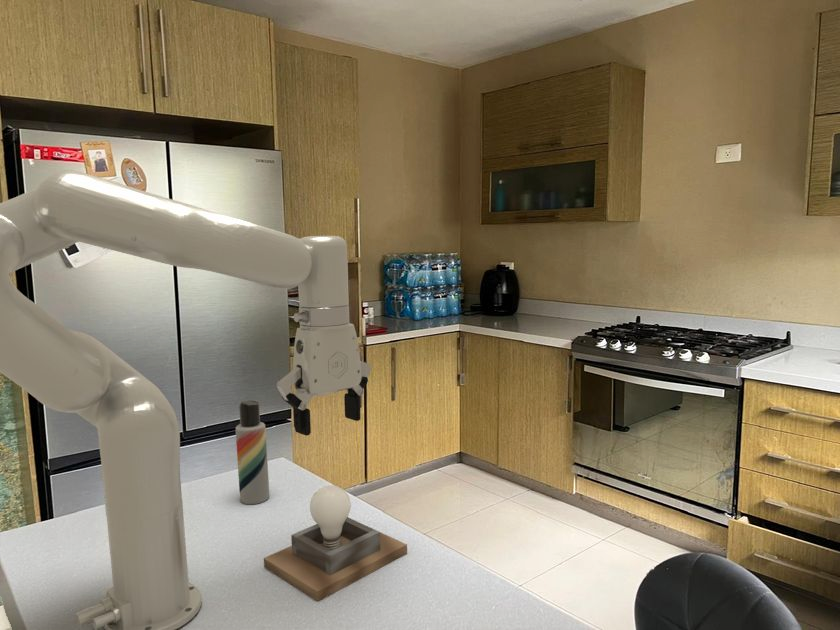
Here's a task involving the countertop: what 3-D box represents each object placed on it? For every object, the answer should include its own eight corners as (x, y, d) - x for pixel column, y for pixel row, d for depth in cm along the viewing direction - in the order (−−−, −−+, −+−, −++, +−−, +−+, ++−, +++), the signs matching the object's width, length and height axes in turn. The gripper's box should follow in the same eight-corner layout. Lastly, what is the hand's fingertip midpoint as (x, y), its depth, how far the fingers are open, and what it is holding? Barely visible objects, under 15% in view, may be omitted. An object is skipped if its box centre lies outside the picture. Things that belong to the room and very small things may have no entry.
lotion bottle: (239, 495, 126) (233, 399, 124) (268, 491, 128) (263, 396, 125) (240, 506, 121) (234, 406, 118) (270, 502, 122) (264, 403, 120)
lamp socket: (317, 601, 89) (316, 571, 88) (264, 567, 98) (262, 540, 98) (407, 553, 102) (406, 527, 101) (351, 526, 111) (350, 502, 111)
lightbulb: (356, 543, 102) (353, 479, 101) (347, 564, 96) (345, 495, 94) (318, 542, 103) (315, 478, 101) (307, 562, 96) (304, 495, 95)
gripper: (291, 325, 86) (296, 445, 88) (383, 313, 99) (385, 418, 101) (261, 321, 91) (267, 434, 94) (352, 310, 104) (355, 410, 106)
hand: (328, 426), depth 97 cm, fingers open, 9 cm apart
